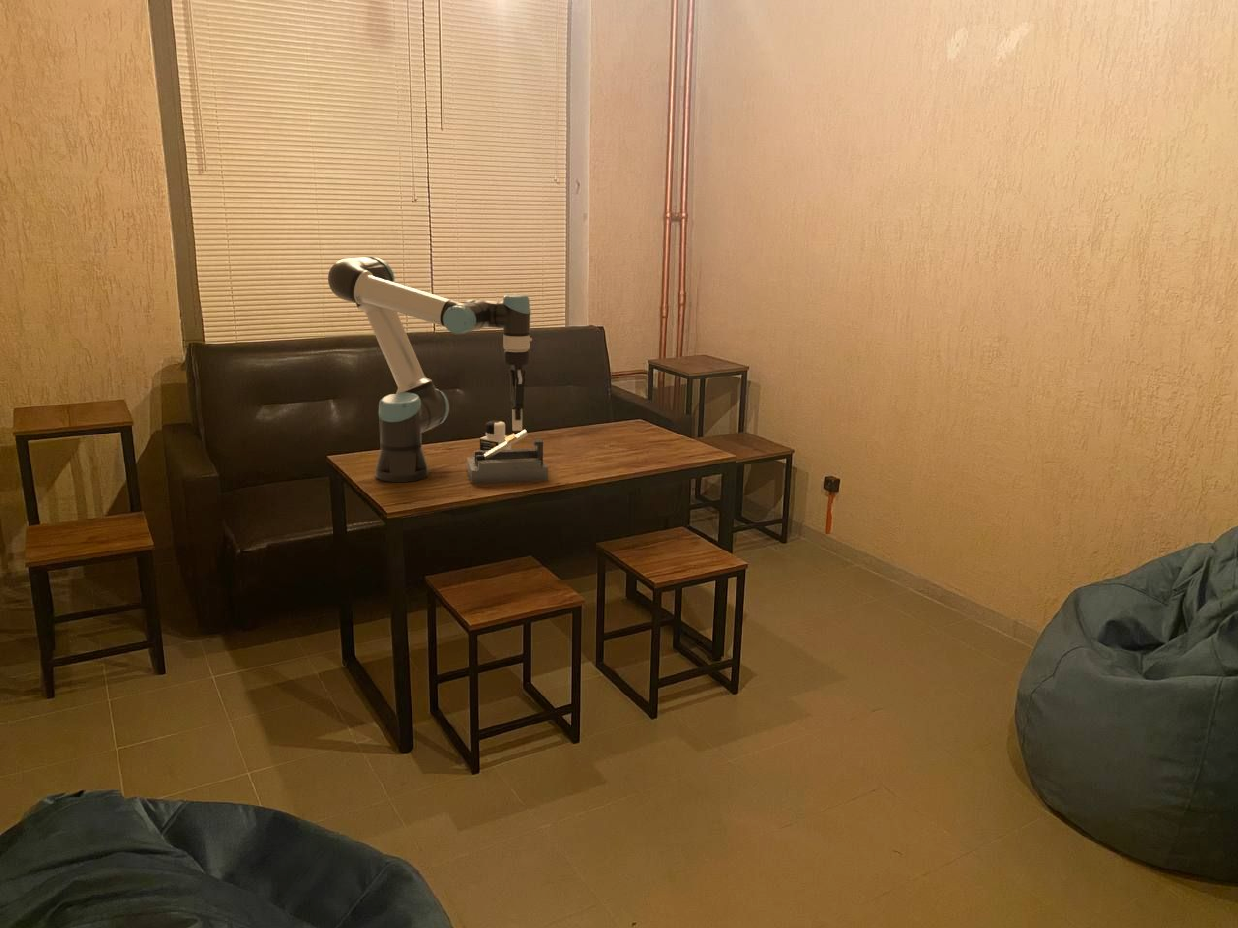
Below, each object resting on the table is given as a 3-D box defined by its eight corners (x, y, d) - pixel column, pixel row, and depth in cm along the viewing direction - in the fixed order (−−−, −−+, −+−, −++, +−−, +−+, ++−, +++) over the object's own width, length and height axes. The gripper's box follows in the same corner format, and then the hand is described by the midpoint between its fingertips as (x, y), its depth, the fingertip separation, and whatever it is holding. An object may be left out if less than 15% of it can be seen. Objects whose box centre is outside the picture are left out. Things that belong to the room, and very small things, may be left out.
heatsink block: (472, 484, 256) (471, 448, 253) (467, 470, 269) (466, 436, 266) (547, 480, 262) (548, 445, 259) (539, 466, 275) (539, 433, 272)
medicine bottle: (479, 459, 280) (479, 422, 277) (492, 454, 286) (492, 418, 283) (498, 463, 277) (498, 425, 274) (511, 458, 283) (511, 421, 280)
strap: (479, 465, 260) (476, 460, 260) (477, 461, 264) (474, 456, 263) (529, 435, 262) (525, 430, 261) (526, 432, 265) (523, 427, 265)
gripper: (533, 353, 251) (533, 434, 257) (526, 346, 263) (526, 424, 269) (507, 353, 249) (507, 436, 255) (500, 346, 261) (501, 425, 267)
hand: (517, 430), depth 262 cm, fingers closed
